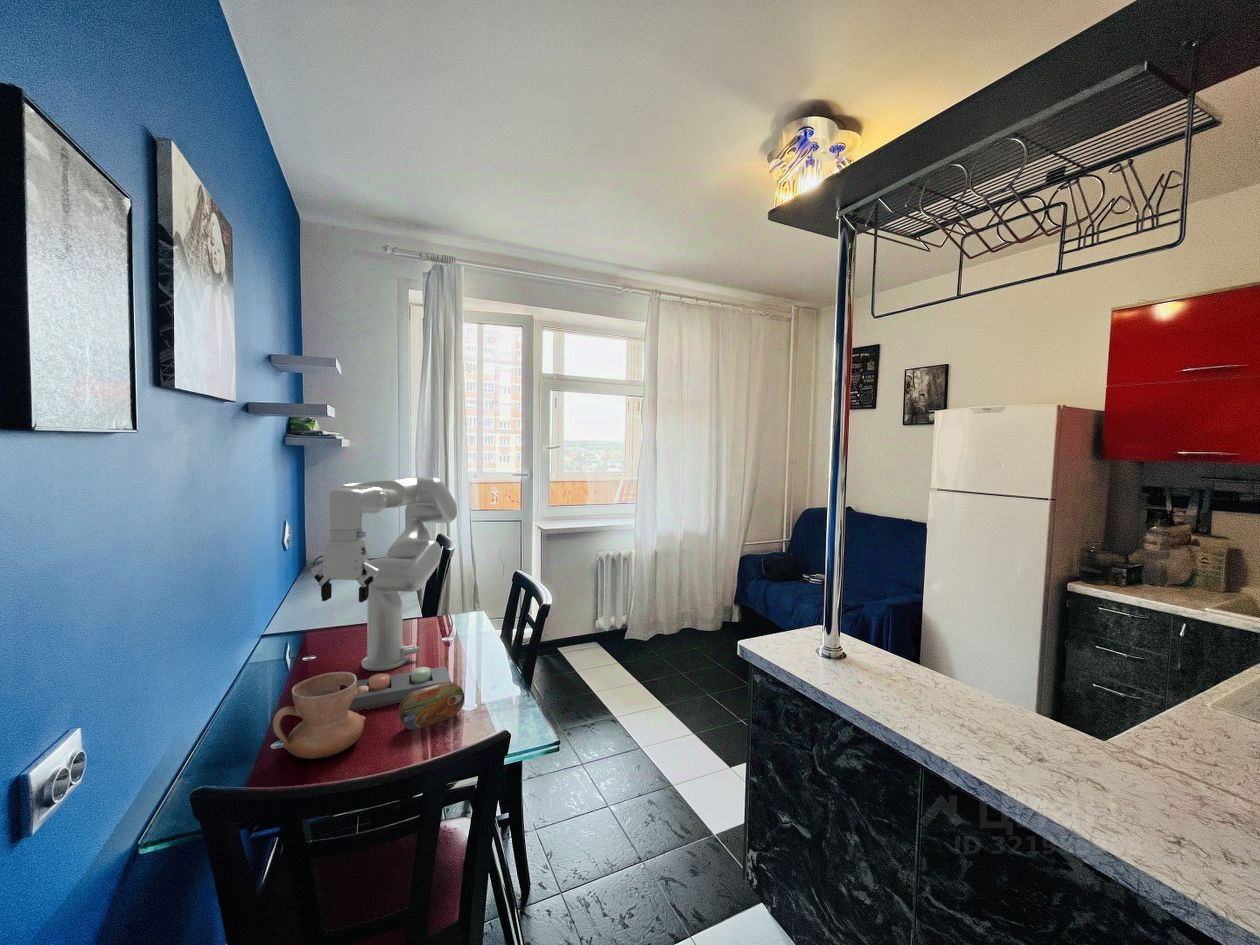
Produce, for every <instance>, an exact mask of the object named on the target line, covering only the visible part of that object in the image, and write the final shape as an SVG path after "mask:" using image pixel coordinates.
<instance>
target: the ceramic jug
mask: <svg viewBox="0 0 1260 945" xmlns="http://www.w3.org/2000/svg"><path fill="white" fill-rule="evenodd" d="M357 679H358V678H357V676H356V674H354V673H352V672H349V671H337V672H336V671H333V672H327V673H323V674H319V675H316V676H312V677H310V678H307V679H305V680H302V681H300V682H297V683H296V684H295V685H294V686H293V687H292V689H291V697H292V701H293V704H294V706H293V705H291V706H289V705H288V706H287V705H286V706H285V707H282V708H280V709H279V710H278V711H277V712H276V713H275V715H274V716H273V720H272V728H273V732H274V733H275V735H276V737H278V739H279V740H280V741H281V742H282V743H283V748H284V749H285V750H286V751H288V752H289V754H291V755H293V756H294V757H296V758H301V759H307V760H312V759H313V760H316V759H317V760H318V759H322V758H323V759H324V758H328V757H331V756H334V755H336V754H339V753H341V752H343V751H345V750H347V749H349V748H350V747H352V746H353V745H354V744H355V743H356V742H357V741H358V740H359V738H360V737H361V735H362V733H363V731H364V726H365V722H366V716H364V715H360V714H359V713H358V712H353V711H350V710H348V709H349V707H350V705H351V702H352V700H353V698H354V697H355V696H357V695H358V694H360V693H362V692H365V693H367V692H368V689H369V687H368V686H360V687H358V688H357V689H356V685H357V681H358V680H357ZM341 686H344V687H346V688H344V689H342V690H341V689H340V688H341ZM288 715H289V716H290V715H292V716H296V717H300V718H301V719H302V721H301V722H299V723H298V724H296V726H295V727H293V729H291V731H290V732H289V734H288V736H287V735H286V734H285V733H284V731H283V729H282V719H283V717H285V716H288Z"/></svg>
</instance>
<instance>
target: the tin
mask: <svg viewBox="0 0 1260 945" xmlns="http://www.w3.org/2000/svg"><path fill="white" fill-rule="evenodd" d="M464 702H465V692H464V690H463V688H462V686H460V685H457V684H456V683H454V682H452V681H451V682H444V683H441V684H437V685H434V686H431V687H427V688H424V689H420V690H417V691H414V692H411V693H410V694H408V695H407V696H406V697H405V698H404V699H403V700H402V702H401V703H400V704H399V706H398V711H397V714H398V718H399V721H400V722H401V724H402V726H403V727H405V728H406V729H407V730H412V731H414V730H415V731H416V730H420V729H423V728H425V727H426V728H427V727H429V726H431V725H434V724H438V723H440V722H443V721H446V720H449V719H451V718H454V716H456V715H458V713H459V712H460V711H461V709H462V708H463V706H464Z"/></svg>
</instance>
